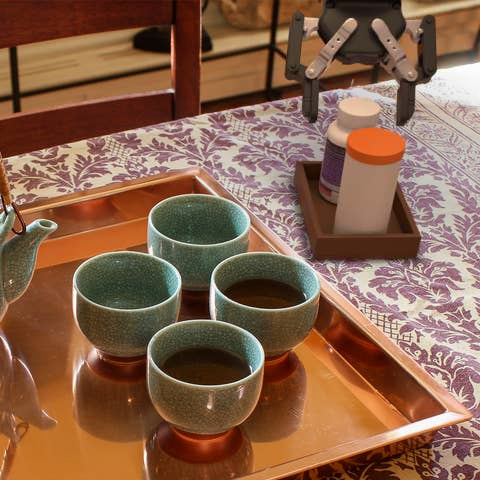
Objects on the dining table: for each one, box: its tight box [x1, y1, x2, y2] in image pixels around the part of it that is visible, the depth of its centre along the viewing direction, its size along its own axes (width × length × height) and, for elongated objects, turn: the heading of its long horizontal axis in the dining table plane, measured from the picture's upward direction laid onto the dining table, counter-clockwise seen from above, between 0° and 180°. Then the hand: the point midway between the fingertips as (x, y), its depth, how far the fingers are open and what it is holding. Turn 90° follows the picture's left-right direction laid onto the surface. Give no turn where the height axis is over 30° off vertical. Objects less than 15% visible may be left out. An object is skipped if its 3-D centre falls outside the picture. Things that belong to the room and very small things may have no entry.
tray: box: [293, 160, 422, 261], centre depth 93 cm, size 14×10×2 cm
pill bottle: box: [319, 96, 381, 204], centre depth 93 cm, size 5×5×10 cm
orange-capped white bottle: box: [333, 127, 407, 234], centre depth 88 cm, size 5×5×10 cm
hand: (357, 122), depth 91 cm, fingers open, 8 cm apart
